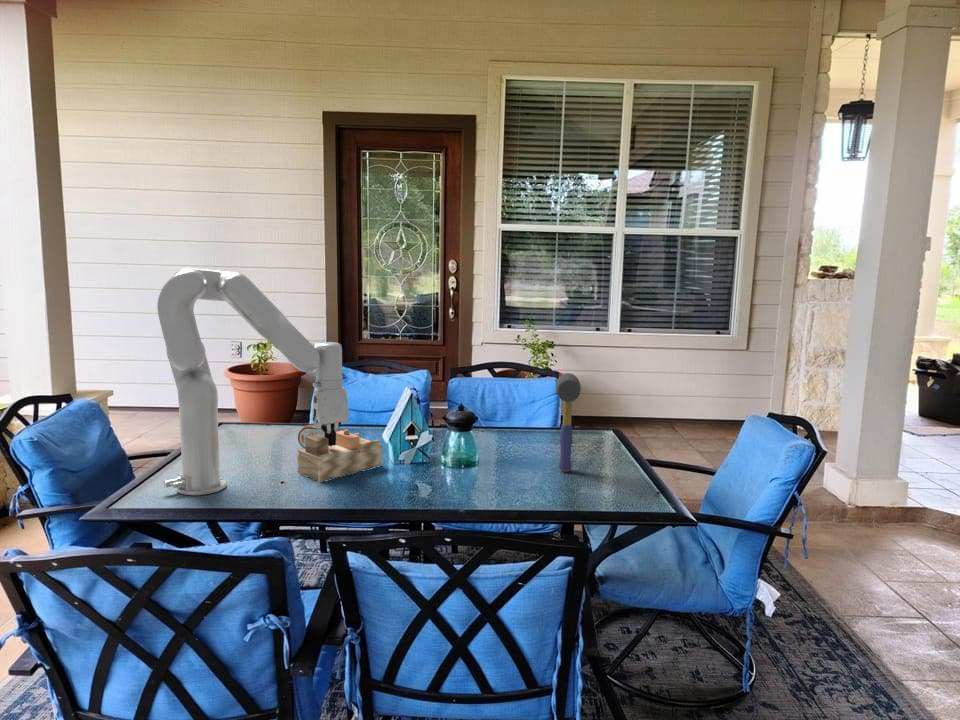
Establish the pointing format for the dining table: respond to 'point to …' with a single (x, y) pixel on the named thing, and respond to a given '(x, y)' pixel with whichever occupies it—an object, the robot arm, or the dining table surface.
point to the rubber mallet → (567, 416)
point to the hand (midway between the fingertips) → (330, 444)
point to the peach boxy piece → (347, 439)
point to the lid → (324, 449)
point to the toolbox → (342, 462)
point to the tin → (309, 433)
